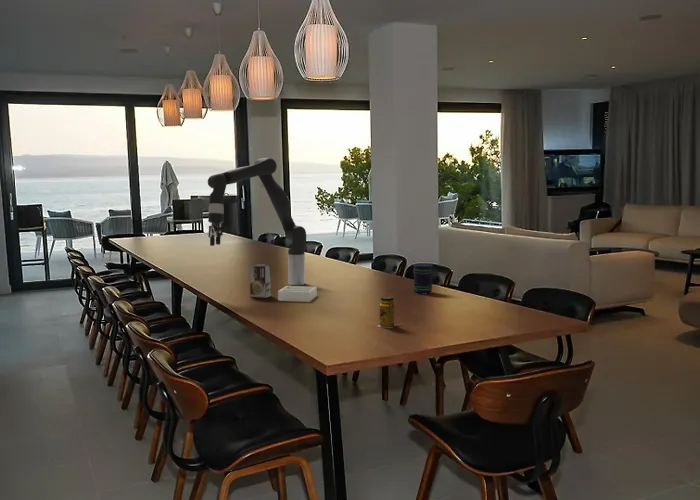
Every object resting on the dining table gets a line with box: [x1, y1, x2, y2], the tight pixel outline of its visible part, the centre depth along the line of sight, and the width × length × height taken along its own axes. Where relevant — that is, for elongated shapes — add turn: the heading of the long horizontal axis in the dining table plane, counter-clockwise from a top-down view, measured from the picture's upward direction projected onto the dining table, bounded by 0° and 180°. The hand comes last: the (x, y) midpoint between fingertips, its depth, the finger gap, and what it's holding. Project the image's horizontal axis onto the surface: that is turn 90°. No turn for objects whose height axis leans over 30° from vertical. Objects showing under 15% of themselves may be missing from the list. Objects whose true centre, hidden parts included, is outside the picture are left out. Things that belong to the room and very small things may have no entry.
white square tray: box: [277, 285, 318, 303], centre depth 330 cm, size 16×16×5 cm
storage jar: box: [412, 263, 433, 294], centre depth 347 cm, size 10×10×15 cm
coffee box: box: [249, 263, 272, 298], centre depth 334 cm, size 9×6×16 cm
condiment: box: [376, 296, 400, 329], centre depth 271 cm, size 7×8×12 cm
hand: (215, 245), depth 332 cm, fingers open, 8 cm apart
